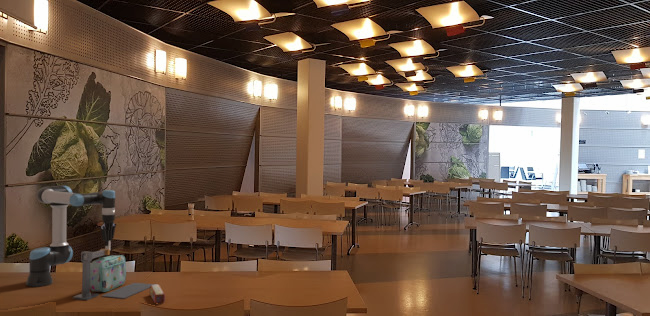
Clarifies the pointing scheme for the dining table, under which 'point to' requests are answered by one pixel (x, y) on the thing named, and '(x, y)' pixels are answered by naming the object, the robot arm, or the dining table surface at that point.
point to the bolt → (98, 253)
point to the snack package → (157, 293)
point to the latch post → (86, 278)
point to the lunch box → (107, 273)
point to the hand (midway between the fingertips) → (107, 250)
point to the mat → (128, 290)
